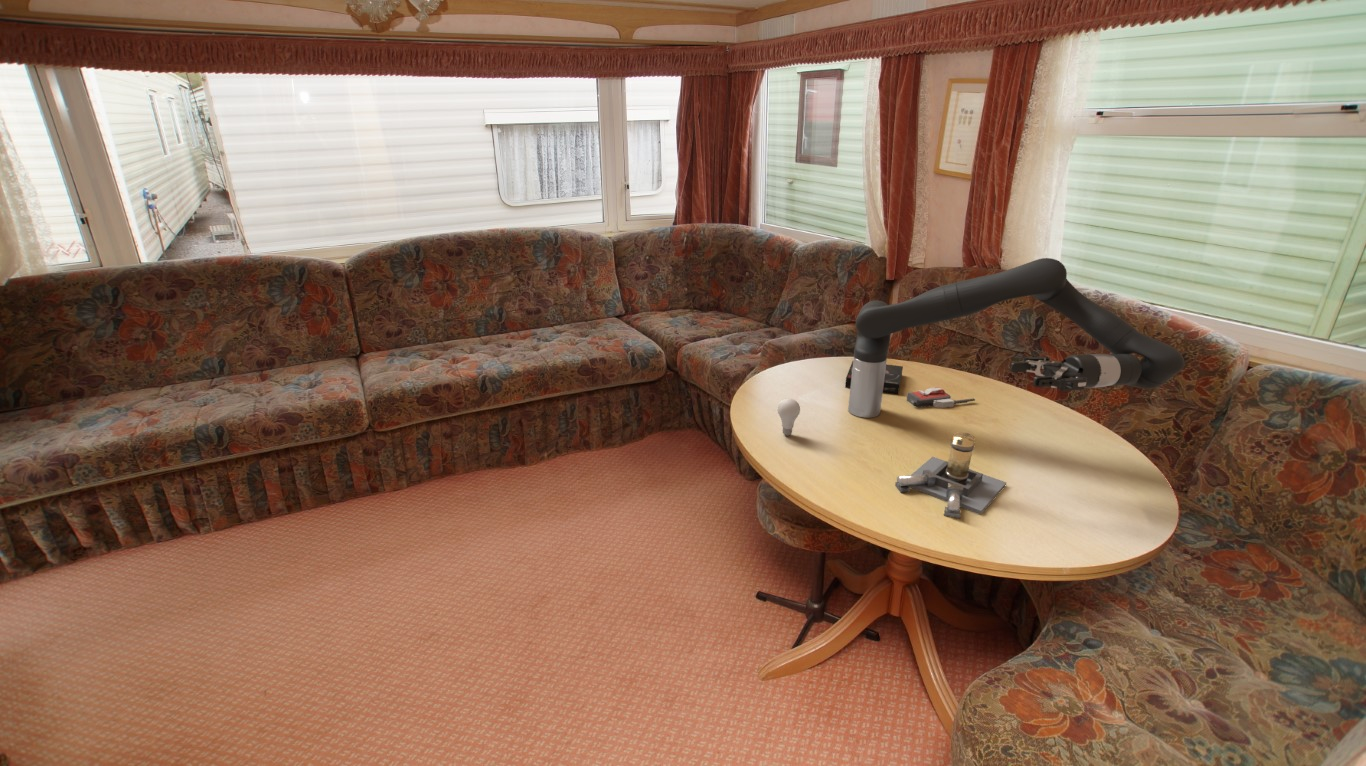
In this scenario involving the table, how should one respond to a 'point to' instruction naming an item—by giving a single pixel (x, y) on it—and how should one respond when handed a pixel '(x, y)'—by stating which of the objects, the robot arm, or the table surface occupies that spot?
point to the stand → (975, 490)
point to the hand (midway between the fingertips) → (1022, 374)
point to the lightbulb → (788, 414)
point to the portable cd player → (890, 380)
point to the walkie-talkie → (933, 398)
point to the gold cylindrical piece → (960, 457)
